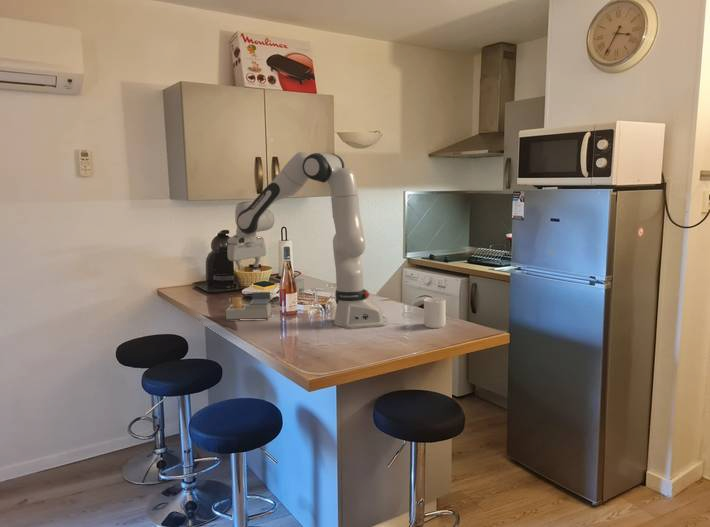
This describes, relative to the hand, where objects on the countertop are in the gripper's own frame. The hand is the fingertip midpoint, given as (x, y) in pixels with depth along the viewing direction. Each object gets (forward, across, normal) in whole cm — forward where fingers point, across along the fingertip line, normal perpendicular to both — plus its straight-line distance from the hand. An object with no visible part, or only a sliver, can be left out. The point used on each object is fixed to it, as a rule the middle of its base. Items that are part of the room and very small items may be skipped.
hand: (248, 268), depth 245 cm
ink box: (+21, -26, +2) cm, 34 cm away
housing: (+21, +6, +5) cm, 22 cm away
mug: (+22, -26, +82) cm, 89 cm away
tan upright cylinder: (+20, +9, +1) cm, 22 cm away
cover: (+16, -2, +4) cm, 16 cm away
